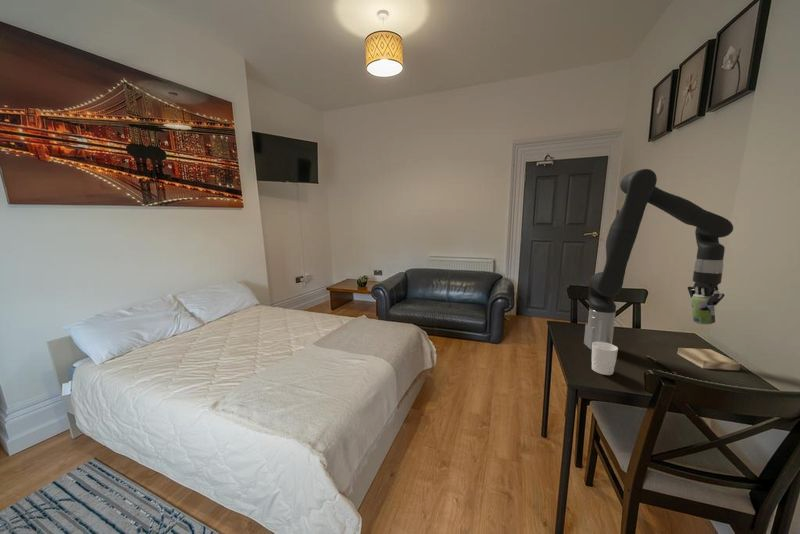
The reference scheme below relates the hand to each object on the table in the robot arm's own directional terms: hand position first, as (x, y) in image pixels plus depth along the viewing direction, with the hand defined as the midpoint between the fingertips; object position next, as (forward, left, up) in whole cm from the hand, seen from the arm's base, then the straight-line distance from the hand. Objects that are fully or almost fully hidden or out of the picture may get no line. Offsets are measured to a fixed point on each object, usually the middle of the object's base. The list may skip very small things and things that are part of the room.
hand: (701, 313), depth 111 cm
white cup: (-42, -14, -20) cm, 48 cm away
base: (+3, -1, -20) cm, 20 cm away
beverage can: (0, 0, -4) cm, 4 cm away
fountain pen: (-17, -7, -20) cm, 27 cm away
